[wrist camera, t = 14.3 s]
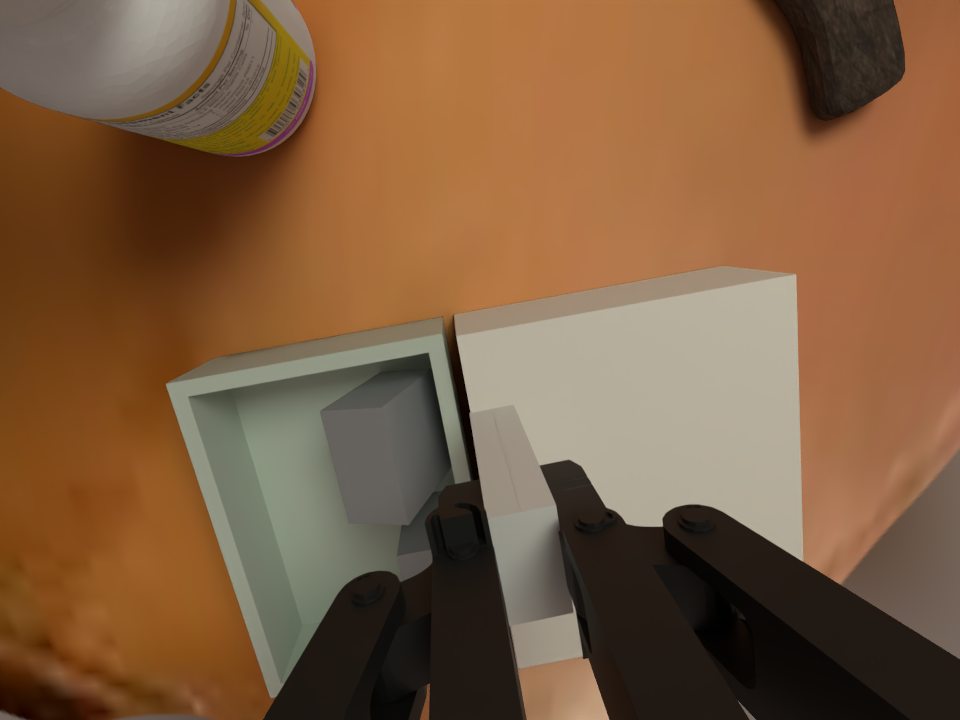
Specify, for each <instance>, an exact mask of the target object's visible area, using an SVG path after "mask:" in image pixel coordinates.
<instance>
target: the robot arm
mask: <svg viewBox="0 0 960 720" xmlns="http://www.w3.org/2000/svg"><path fill="white" fill-rule="evenodd" d="M469 414H470V421H471V427H472V433H473V440H474V446H475V452H476V458H477V465H478V471H479V477H480V479H478V480H473V481H468V482H463V483H458V484H453V485H448V486H445V488H444V489H443V491H442V492H441V494H440V495H439V496H438V508H436V509H434V510H433V511H432V512H431V513H430V514H429V515H428V516H427V518H426V520H425V527H426V532H427V536H428V540H429V544H430V549H431V553H432V563H431V564H430V566H429V567H427V568H426V569H425V570H423V571H422V572H421V573H419V574H417V575H415V576H413V577H411V578H409V579H406V580H404V581H402V582H400V581H399V579H398V577H397V575H395V574H393V573H391V572H390V571H374V572H368V573H365V574H363V575H360V576H358V577H356V578H354V579H353V580H351V581H350V582H349V583H347V584H346V585H345V586H344V587H343V588H342V589H341V590H340V592H339V593H338V594H337V596H336V597H335V599H334V601H333V603H332V604H331V606H330V608H329V609H328V611H327V613H326V614H325V616H324V618H323V619H322V621H321V623H320V624H319V626H318V628H317V629H316V631H315V633H314V635H313V636H312V638H311V640H310V641H309V643H308V645H307V646H306V648H305V650H304V651H303V653H302V655H301V656H300V658H299V660H298V661H297V663H296V665H295V667H294V668H293V670H292V672H291V673H290V675H289V677H288V678H287V680H286V682H285V683H284V685H283V687H282V688H281V690H280V692H279V693H278V695H277V697H276V699H275V700H274V702H273V704H272V705H271V707H270V709H269V710H268V712H267V714H266V715H265V717H264V719H263V720H420V717H421V713H422V710H423V706H424V703H425V699H426V694H427V684H429V683H430V709H429V720H527V719H526V714H525V708H524V703H523V697H522V691H521V686H520V680H519V675H518V669H517V664H516V658H515V653H514V647H513V642H512V637H511V632H510V627H509V626H513V625H518V624H523V623H527V622H532V621H537V620H542V619H546V618H551V617H556V616H560V615H565V614H570V613H574V611H573V605H572V601H573V604H574V607H575V610H576V616H577V622H578V629H579V635H580V641H581V647H582V653H583V659H586V658H589V661H590V664H591V667H592V670H593V673H594V676H595V679H596V682H597V685H598V687H599V690H600V693H601V696H602V699H603V702H604V705H605V708H606V711H607V714H608V717H609V720H749V718H748V717H747V715H746V713H745V712H744V710H743V709H742V707H741V705H740V704H739V702H740V703H741V704H742V705H743V706H744V707H745V708H746V709H747V710H748V711H749V713H750V714H751V715H752V716H753V717H754V718H755V719H756V720H960V659H958V658H957V657H955V656H953V655H952V654H950V653H949V652H947V651H946V650H944V649H942V648H941V647H939V646H938V645H936V644H934V643H933V642H931V641H930V640H928V639H926V638H924V637H923V636H922V635H920V634H918V633H917V632H915V631H914V630H912V629H910V628H909V627H907V626H905V625H904V624H902V623H901V622H899V621H897V620H896V619H894V618H892V617H891V616H889V615H888V614H886V613H885V612H883V611H881V610H880V609H878V608H877V607H875V606H873V605H872V604H870V603H869V602H867V601H865V600H864V599H862V598H860V597H859V596H857V595H856V594H854V593H852V592H851V591H849V590H848V589H846V588H844V587H843V586H841V585H840V584H838V583H836V582H835V581H833V580H832V579H830V578H828V577H827V576H825V575H824V574H822V573H820V572H819V571H817V570H816V569H814V568H812V567H811V566H809V565H807V564H806V563H804V562H803V561H801V560H799V559H798V558H796V557H795V556H793V555H791V554H790V553H788V552H787V551H785V550H783V549H782V548H780V547H779V546H777V545H775V544H774V543H772V542H771V541H769V540H767V539H766V538H764V537H763V536H761V535H759V534H758V533H756V532H754V531H753V530H751V529H750V528H748V527H746V526H745V525H743V524H742V523H740V522H738V521H737V520H735V519H734V518H732V517H730V516H729V515H727V514H726V513H724V512H722V511H720V510H718V509H715V508H713V507H710V506H704V505H699V504H693V505H691V504H689V505H683V506H679V507H675V508H673V509H671V510H669V511H668V512H666V514H665V515H664V517H663V518H662V521H663V527H644V526H634V525H629V524H626V523H625V521H624V520H623V518H622V517H621V516H620V515H619V514H618V513H617V512H616V511H614V510H611V509H609V508H606V506H605V505H604V503H603V501H602V500H601V498H600V496H599V495H598V493H597V491H596V490H595V488H594V486H593V485H592V484H591V481H590V480H589V478H588V477H587V475H586V473H585V471H584V470H583V468H582V466H580V465H578V464H577V463H575V462H573V461H571V460H564V461H559V462H554V463H550V464H545V465H540V466H539V463H538V461H537V459H536V456H535V454H534V452H533V449H532V447H531V444H530V442H529V440H528V437H527V435H526V433H525V430H524V428H523V426H522V423H521V421H520V418H519V416H518V414H517V411H516V409H515V407H514V404H513V405H508V406H503V407H498V408H493V409H488V410H483V411H478V412H473V413H469ZM571 598H572V599H571ZM737 700H738V701H739V702H738V701H737Z"/></svg>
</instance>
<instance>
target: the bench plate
mask: <svg viewBox="0 0 960 720" xmlns="http://www.w3.org/2000/svg"><path fill="white" fill-rule="evenodd" d="M454 321H455V330H456V338H457V343H458V349H459V354H460V359H461V365H462V370H463V375H464V381H465V386H466V391H467V397H468V402H469V407H470V413H473V412H478V411H483V410H488V409H493V408H498V407H503V406H508V405H513V404H514V407H515V409H516V411H517V414H518V416H519V418H520V421H521V423H522V426H523V428H524V430H525V433H526V435H527V437H528V440H529V442H530V444H531V447H532V449H533V452H534V454H535V456H536V459H537V461H538V463H539V466H540V465H545V464H550V463H554V462H559V461H564V460H571V461H573V462H575V463H577V464H578V465H580V466H582V468H583V470H584V471H585V473H586V475H587V477H588V478H589V480H590V481H591V484H592V485H593V486H594V488H595V490H596V491H597V493H598V495H599V496H600V498H601V500H602V501H603V503H604V505H605V506H606V508H609V509H611V510H614V511H616V512H617V513H618V514H619V515H620V516H621V517H622V518H623V520H624V521H625V523H626V524H629V525H634V526H644V527H663V521H662V518H663V517H664V515H665V514H666V512H668V511H669V510H671V509H673V508H675V507H679V506H683V505H689V504H691V505H693V504H699V505H704V506H710V507H713V508H715V509H718V510H720V511H722V512H724V513H726V514H727V515H729V516H730V517H732V518H734V519H735V520H737V521H738V522H740V523H742V524H743V525H745V526H746V527H748V528H750V529H751V530H753V531H754V532H756V533H758V534H759V535H761V536H763V537H764V538H766V539H767V540H769V541H771V542H772V543H774V544H775V545H777V546H779V547H780V548H782V549H783V550H785V551H787V552H788V553H790V554H791V555H793V556H795V557H796V558H798V559H799V560H801V561H803V533H802V492H801V452H800V412H799V371H798V331H797V291H796V274H789V273H780V272H771V271H763V270H754V269H745V268H736V267H727V266H719V267H714V268H708V269H702V270H697V271H691V272H686V273H680V274H675V275H669V276H664V277H658V278H653V279H647V280H642V281H636V282H631V283H625V284H620V285H614V286H609V287H603V288H598V289H592V290H587V291H581V292H576V293H570V294H565V295H559V296H554V297H548V298H543V299H537V300H532V301H526V302H521V303H515V304H510V305H504V306H499V307H493V308H488V309H482V310H477V311H471V312H466V313H460V314H455V315H454ZM571 599H572V598H571ZM572 605H573V611H574V613H570V614H565V615H560V616H556V617H551V618H546V619H542V620H537V621H532V622H527V623H523V624H518V625H513V626H511V631H512V637H513V642H514V647H515V653H516V658H517V663H518V669H521V668H526V667H531V666H536V665H541V664H546V663H551V662H556V661H561V660H566V659H571V658H576V657H581V656H583V653H582V647H581V641H580V635H579V629H578V622H577V616H576V610H575V607H574V604H573V601H572Z"/></svg>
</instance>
